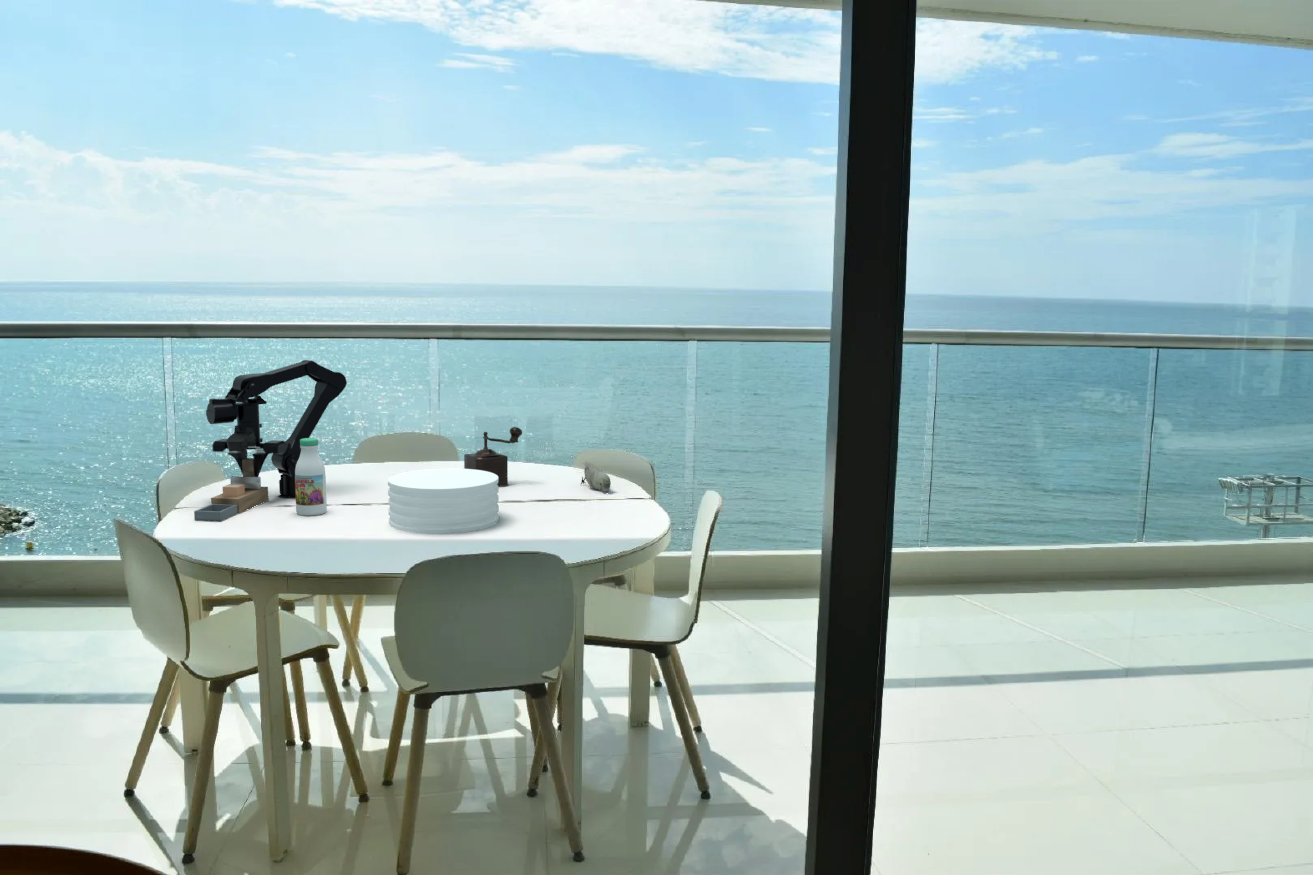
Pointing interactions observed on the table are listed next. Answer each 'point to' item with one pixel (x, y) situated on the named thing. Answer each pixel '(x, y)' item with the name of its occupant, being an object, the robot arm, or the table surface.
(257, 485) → the grey block with post
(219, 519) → the box
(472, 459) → the manual coffee grinder
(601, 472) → the decorative bird
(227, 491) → the terracotta tile
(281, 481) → the robot arm
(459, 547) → the table surface
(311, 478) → the milk bottle
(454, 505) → the plate stack
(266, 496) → the walnut board
